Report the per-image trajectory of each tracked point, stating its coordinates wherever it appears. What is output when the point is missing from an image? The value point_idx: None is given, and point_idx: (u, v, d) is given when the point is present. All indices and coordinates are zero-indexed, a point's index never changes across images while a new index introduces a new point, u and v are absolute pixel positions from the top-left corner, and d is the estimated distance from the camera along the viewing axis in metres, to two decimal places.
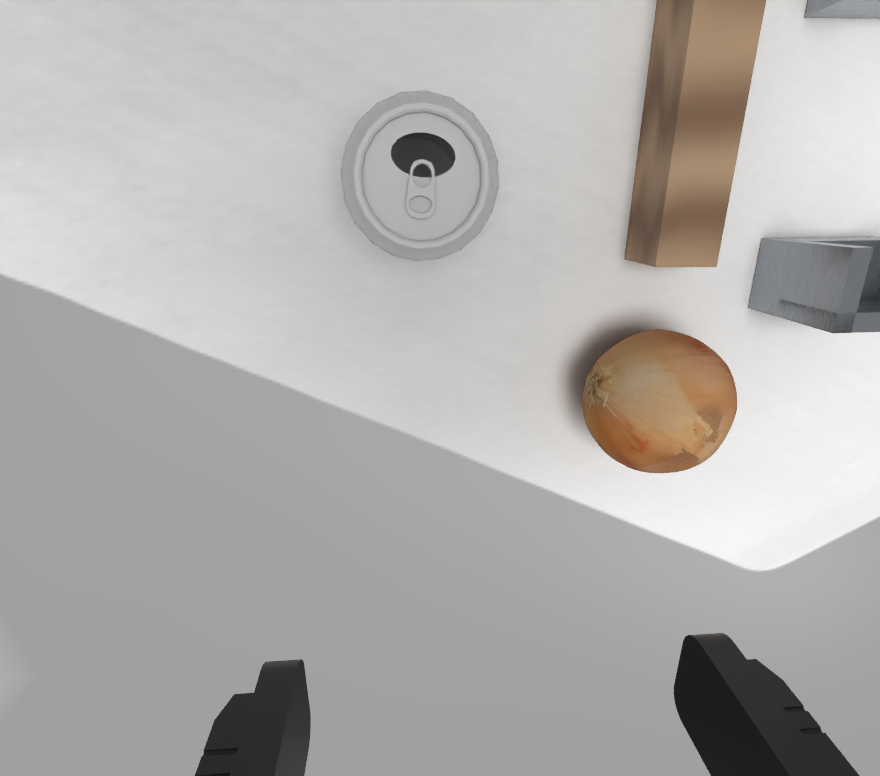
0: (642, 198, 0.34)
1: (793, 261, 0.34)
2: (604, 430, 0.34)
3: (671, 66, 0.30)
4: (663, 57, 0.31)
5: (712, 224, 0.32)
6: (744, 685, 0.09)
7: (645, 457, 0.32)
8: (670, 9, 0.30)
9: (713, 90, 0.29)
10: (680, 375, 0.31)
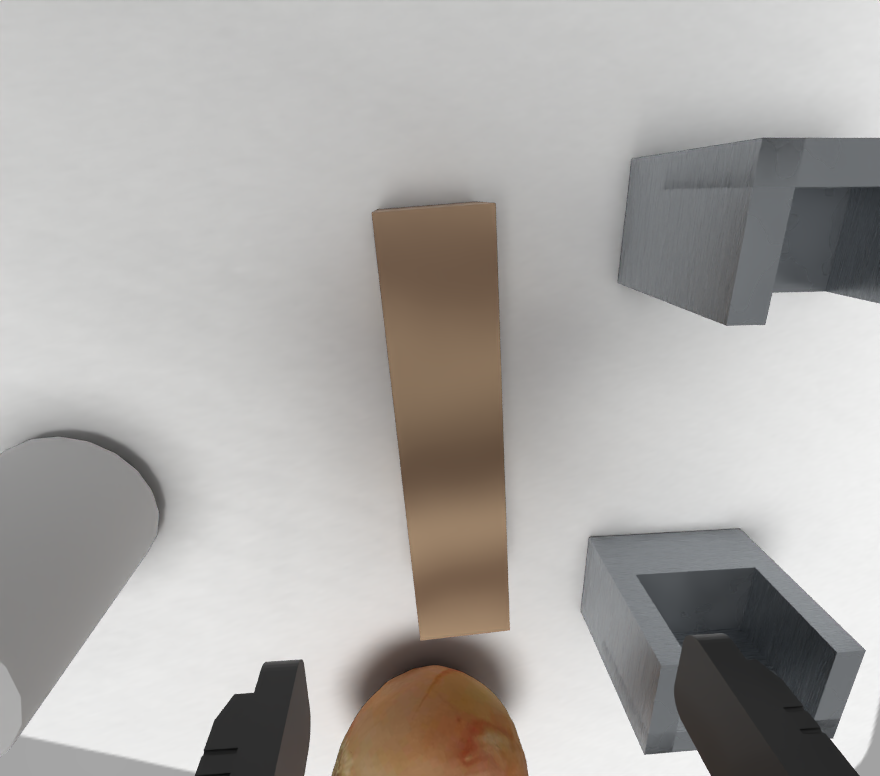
0: None
1: (612, 605, 0.24)
2: None
3: None
4: None
5: (491, 586, 0.22)
6: (744, 685, 0.09)
7: None
8: None
9: (447, 437, 0.19)
10: None
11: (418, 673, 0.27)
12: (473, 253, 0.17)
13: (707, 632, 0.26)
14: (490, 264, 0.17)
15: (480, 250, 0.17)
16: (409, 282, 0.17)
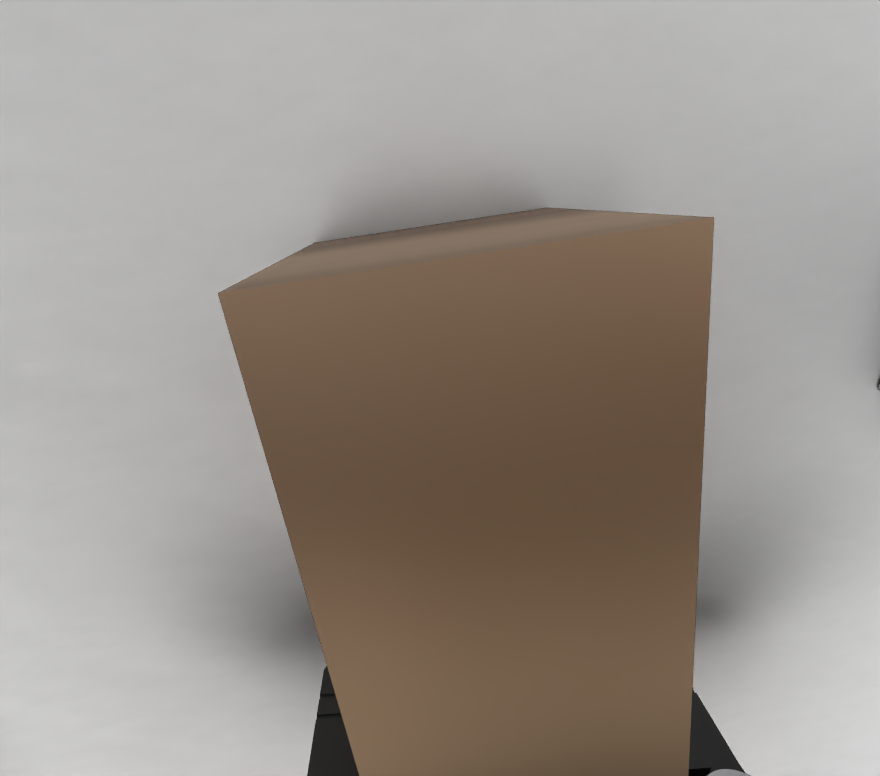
0: None
1: None
2: None
3: None
4: None
5: None
6: None
7: None
8: None
9: None
10: None
11: None
12: (622, 406, 0.05)
13: None
14: (678, 436, 0.05)
15: (646, 394, 0.05)
16: (392, 515, 0.05)
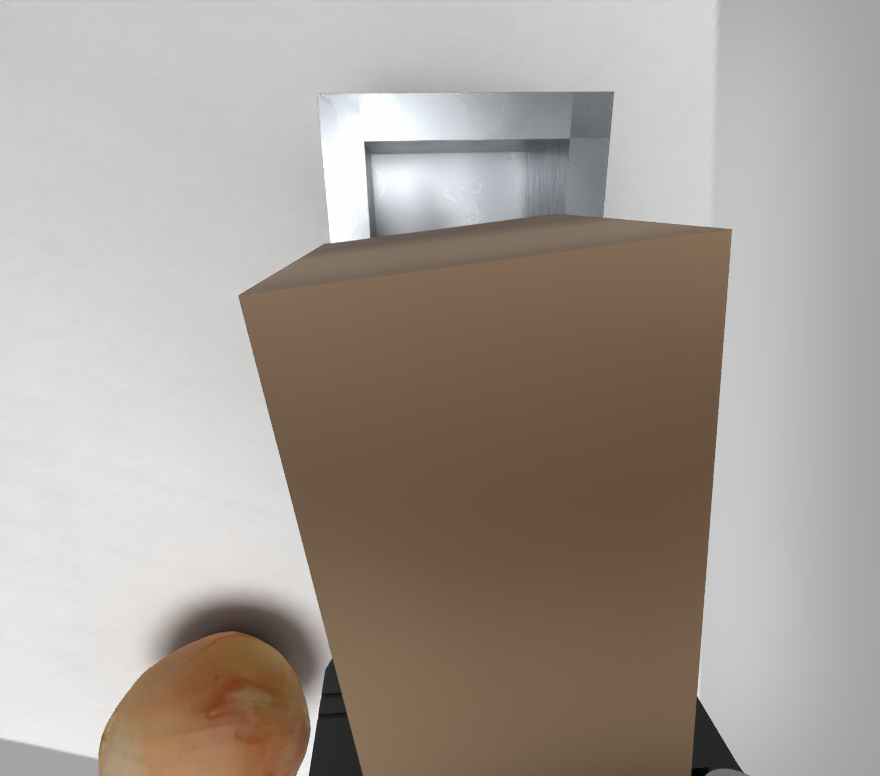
0: None
1: None
2: None
3: None
4: None
5: None
6: None
7: None
8: None
9: None
10: (152, 773, 0.22)
11: (204, 637, 0.28)
12: (635, 414, 0.05)
13: None
14: (690, 445, 0.05)
15: (660, 402, 0.05)
16: (405, 519, 0.05)
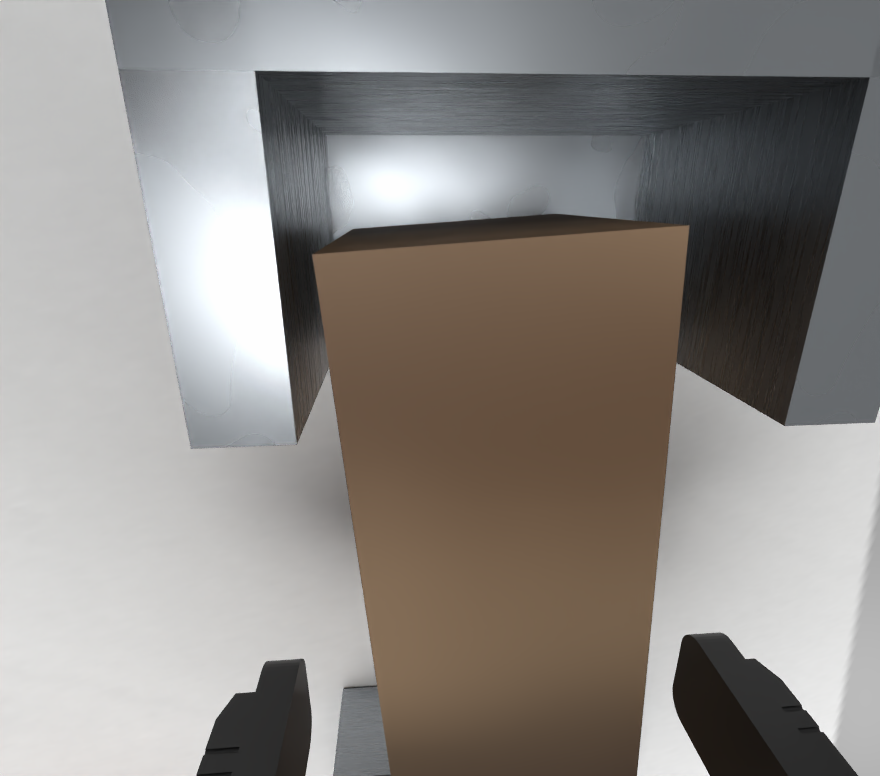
0: None
1: None
2: None
3: None
4: None
5: None
6: (743, 684, 0.09)
7: None
8: None
9: (510, 770, 0.08)
10: None
11: None
12: (611, 368, 0.06)
13: None
14: (653, 395, 0.06)
15: (631, 359, 0.06)
16: (425, 444, 0.06)
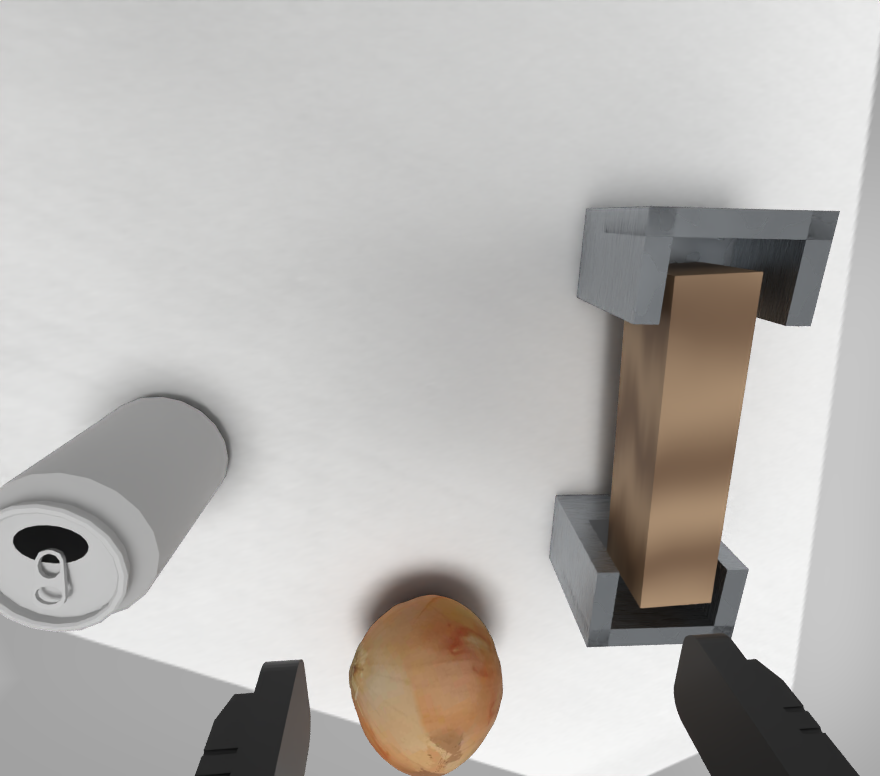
0: (623, 513, 0.30)
1: (570, 542, 0.32)
2: (359, 720, 0.31)
3: (645, 406, 0.26)
4: (636, 386, 0.27)
5: (704, 564, 0.28)
6: (744, 685, 0.09)
7: (391, 764, 0.30)
8: (640, 341, 0.26)
9: (694, 443, 0.25)
10: (418, 692, 0.29)
11: (419, 597, 0.34)
12: (741, 307, 0.23)
13: None
14: (751, 315, 0.23)
15: (746, 305, 0.23)
16: (691, 326, 0.23)
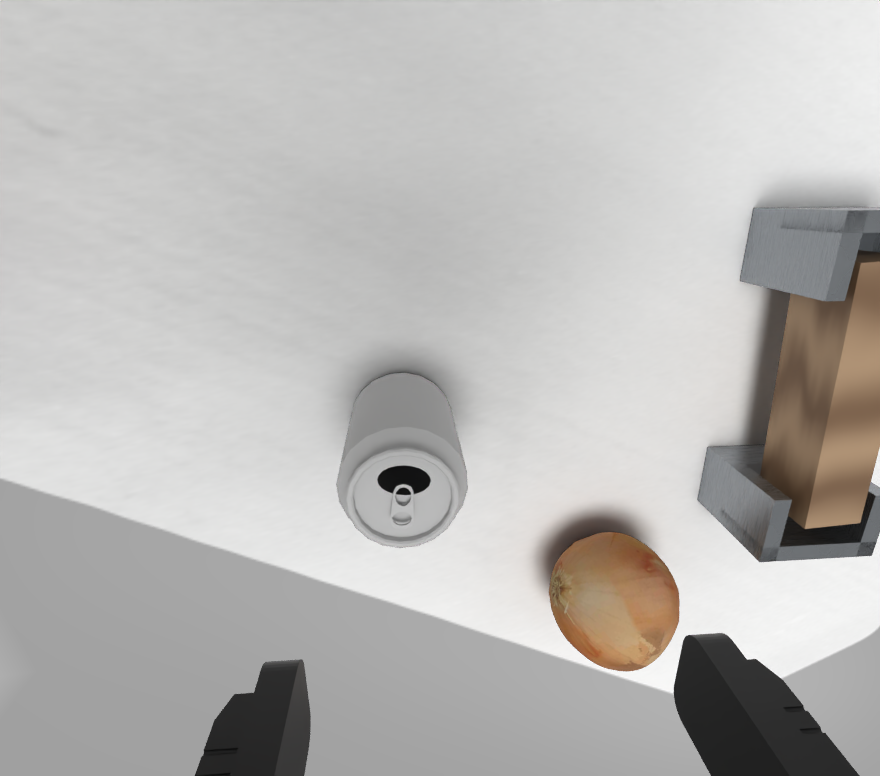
0: (782, 456, 0.37)
1: (731, 482, 0.39)
2: (565, 630, 0.39)
3: (817, 366, 0.33)
4: (806, 351, 0.34)
5: (857, 492, 0.35)
6: (744, 685, 0.09)
7: (599, 661, 0.37)
8: (812, 315, 0.33)
9: (861, 394, 0.32)
10: (628, 600, 0.36)
11: (598, 533, 0.42)
12: None
13: None
14: None
15: None
16: (868, 301, 0.30)
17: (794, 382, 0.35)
